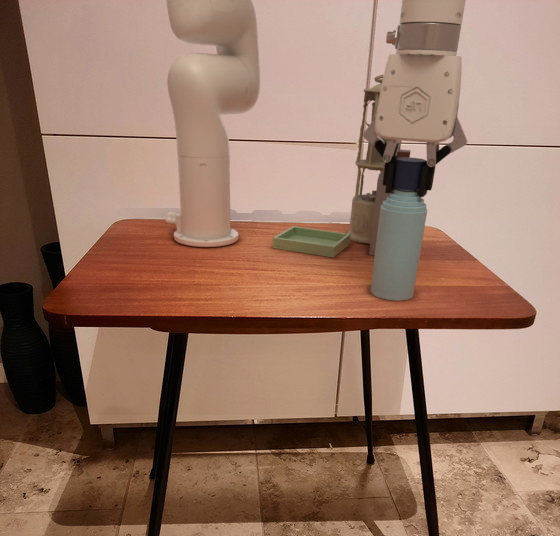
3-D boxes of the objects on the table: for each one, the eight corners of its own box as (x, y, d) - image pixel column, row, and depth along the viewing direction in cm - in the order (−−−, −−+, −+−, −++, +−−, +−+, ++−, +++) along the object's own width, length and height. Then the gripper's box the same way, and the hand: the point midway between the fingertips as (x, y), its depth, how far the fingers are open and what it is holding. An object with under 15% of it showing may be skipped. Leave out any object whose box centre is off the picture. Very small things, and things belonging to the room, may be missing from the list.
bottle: (365, 296, 83) (381, 164, 74) (376, 283, 88) (392, 159, 79) (408, 303, 81) (430, 169, 72) (416, 290, 86) (438, 163, 77)
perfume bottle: (405, 258, 101) (421, 154, 92) (368, 254, 102) (380, 151, 93) (405, 248, 107) (420, 149, 98) (370, 245, 108) (382, 147, 99)
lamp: (352, 245, 107) (369, 71, 93) (339, 228, 119) (352, 71, 104) (403, 245, 108) (427, 73, 94) (385, 228, 120) (405, 73, 105)
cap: (423, 191, 75) (428, 162, 73) (393, 189, 75) (397, 160, 73) (419, 185, 78) (424, 158, 77) (391, 183, 79) (394, 156, 77)
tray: (272, 248, 104) (272, 237, 103) (292, 235, 112) (293, 226, 111) (333, 257, 100) (334, 246, 99) (349, 244, 108) (350, 234, 107)
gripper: (354, 39, 68) (341, 191, 77) (494, 42, 63) (463, 205, 71) (370, 43, 74) (356, 183, 83) (499, 45, 69) (470, 195, 78)
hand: (406, 192), depth 77 cm, fingers closed on cap, 4 cm apart
